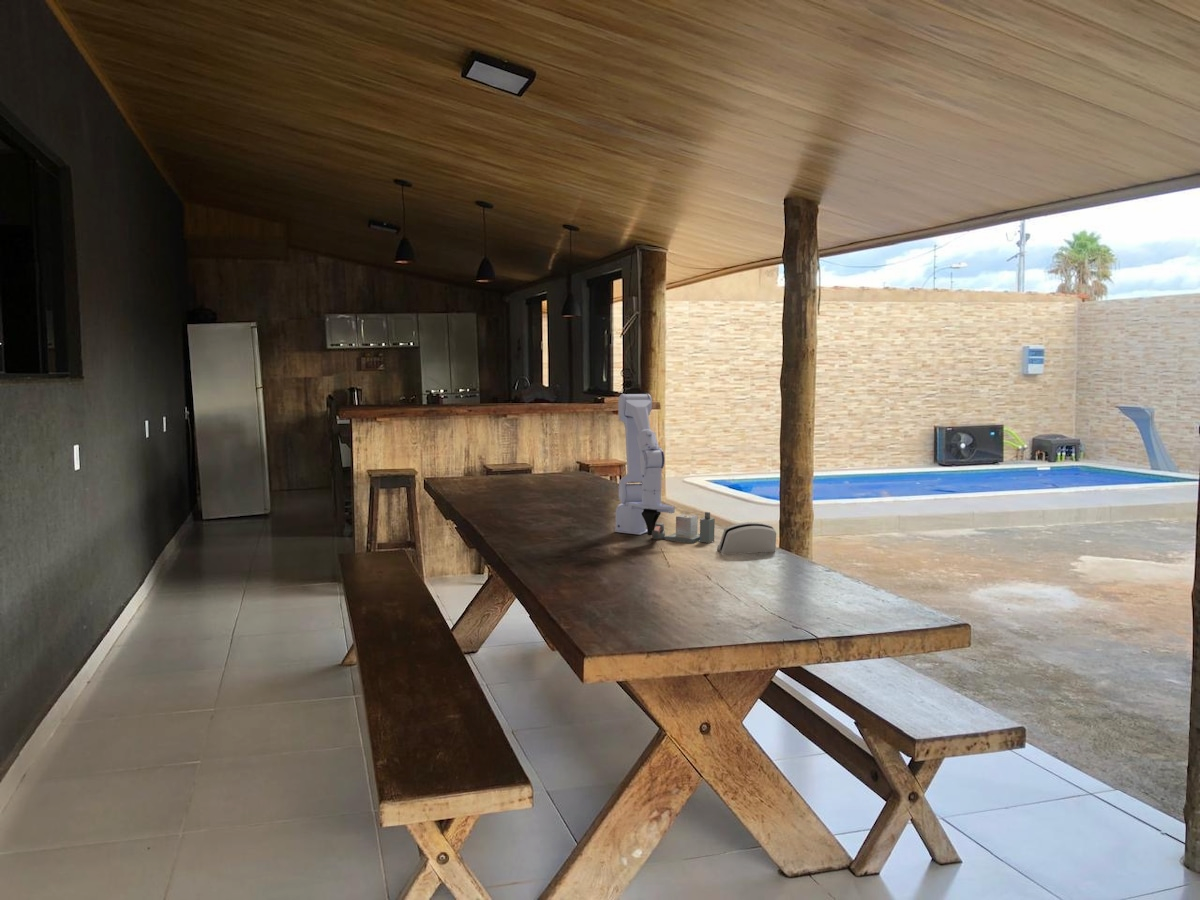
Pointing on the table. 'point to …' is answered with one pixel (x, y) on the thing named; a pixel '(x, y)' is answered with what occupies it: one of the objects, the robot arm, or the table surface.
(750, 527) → the white arched thin slab
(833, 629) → the table surface
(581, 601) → the table surface
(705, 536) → the press
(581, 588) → the table surface
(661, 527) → the lever
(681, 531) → the block
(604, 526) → the table surface
